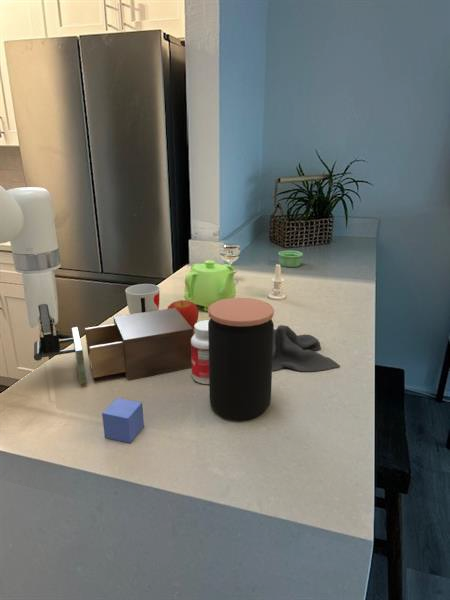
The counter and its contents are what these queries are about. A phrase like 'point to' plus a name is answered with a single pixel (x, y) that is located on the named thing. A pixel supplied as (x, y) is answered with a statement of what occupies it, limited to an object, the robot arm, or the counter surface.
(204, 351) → the pill bottle
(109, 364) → the brown drawer with handle
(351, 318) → the counter surface
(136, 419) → the matte blue cube
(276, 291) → the cream tower figurine
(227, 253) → the wineglass
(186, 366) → the cabinet
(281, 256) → the ramekin
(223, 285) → the teapot
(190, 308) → the apple
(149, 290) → the cup
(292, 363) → the cloth
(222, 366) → the coffee jar
